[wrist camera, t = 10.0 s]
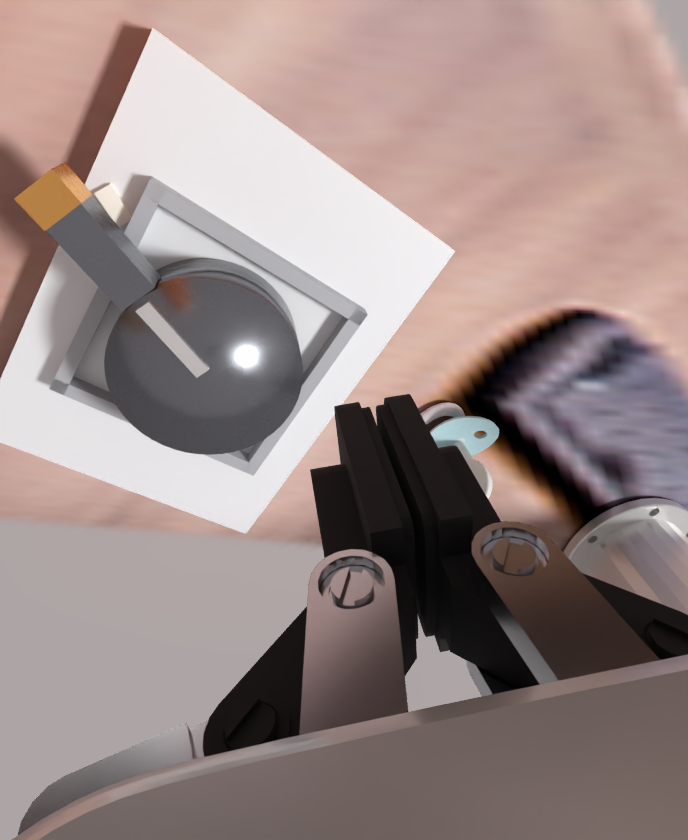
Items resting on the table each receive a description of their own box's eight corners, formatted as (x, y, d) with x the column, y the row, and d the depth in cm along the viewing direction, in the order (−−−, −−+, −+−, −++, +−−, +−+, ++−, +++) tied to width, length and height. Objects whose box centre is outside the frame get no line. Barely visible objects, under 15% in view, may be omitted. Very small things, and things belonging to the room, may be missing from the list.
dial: (328, 361, 34) (339, 394, 30) (199, 444, 35) (194, 485, 32) (141, 105, 25) (124, 110, 22) (-17, 230, 27) (-57, 253, 24)
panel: (446, 244, 33) (461, 256, 30) (245, 519, 41) (245, 543, 39) (157, 30, 25) (149, 26, 23) (-13, 419, 34) (-31, 443, 32)
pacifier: (378, 463, 41) (444, 488, 43) (396, 519, 36) (469, 544, 38) (431, 383, 38) (499, 414, 40) (459, 431, 33) (535, 464, 35)
